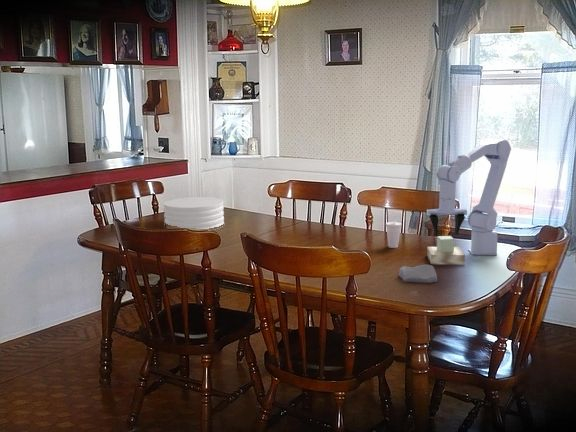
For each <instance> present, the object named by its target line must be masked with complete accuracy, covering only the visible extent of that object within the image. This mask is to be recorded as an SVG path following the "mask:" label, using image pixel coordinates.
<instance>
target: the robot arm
mask: <svg viewBox="0 0 576 432" xmlns="http://www.w3.org/2000/svg"><path fill="white" fill-rule="evenodd" d="M511 151H512V147H511V145H510V142H509V141H508V140H507V139H494V138H488V137H486V138H483V139H482V140H480V141H479V143H478V145H477V146H476V147H475V148H473V149H472V150H471V151H469V152H468V153H466V154H458V155H457V157H456V158H454V159H453V160H452V161H449V162H448V164H443V165H441V166H440V167H439V168H438V169H437V172H436V173H435V175H436V178H437V181H438V184H439V185H438V186H439V194H438V195H439V197H438V199H439V200H438V201H439V203H438V208H433V209H426V215H427V216H428V217H429V220H430V222H431V224H432V229H433V233H434V235H435V236H438V234H439V230H438V229H439V228H438V227H439V225H438V224H439V217H438V216H454V223H455V224H454V234H456V235H459V232H460V228H461V226H462V224H463V222H464V220H465V219H466V216H467V215H468V216H467V225H468V226H469V228H470V230H471V236H470V237H471V240H470V243H471V244H470V248H468V252H469V253H470V254H471V255H479V256H480V255H481V256H484V255H488V256H489V255H490V256H491V255H493V256H494V255H495V256H496V255H498V253H497V252H498V231H497V230H494V229H495V228H496V226H497V217H498V212H497V211H496V210H495V208H494V206H495V203H496V201H497V197H498V195H499V194H498V193H499V190H500V188H501V184H502V180H503V178H504V174H505V172H506V167H507V165H508V160H509V157H510V154H511ZM482 157H485V159H486V160H487V161H488V162H489V163H490V168H489V171H488V173H487V178H486V179H485V184H484V187H483V190H482V194H481V196H480V200H479V203H478V204H476V205H475V206H473V207H472V209H471V211H470V213H469V214H468V209H466V208H456V195H457V194H456V192H457V190H456V189H457V181H459V180H460V176H461V175H462V174H464V173H465V172H467V170H469V169H470V168H471V167H472V163H474V162H475V161H477V160H479V159H480V158H482Z"/></svg>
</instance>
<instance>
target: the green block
mask: <svg viewBox="0 0 576 432" xmlns="http://www.w3.org/2000/svg"><path fill="white" fill-rule="evenodd" d="M436 236H437V237H436V247H437V250H438V251H439V252H440V253H444V252H454V247H455V238H454V237H452V235H439V236H438V235H436Z"/></svg>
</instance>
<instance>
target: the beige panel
mask: <svg viewBox="0 0 576 432" xmlns="http://www.w3.org/2000/svg"><path fill="white" fill-rule="evenodd" d="M426 252H427V253H426V254H427V255H426V257H427V258H428V261H429V264H431V265H460V266H461V265H465V264H466V263H465V262H466V261H465V260H466V259H465V258H466V257H465V256H466V255H465V252H463V250H462V248H461V247H460V246H454V252H444V253H440V252H439V251H438V250H437V246H427V250H426Z"/></svg>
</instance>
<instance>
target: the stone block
mask: <svg viewBox="0 0 576 432" xmlns="http://www.w3.org/2000/svg"><path fill="white" fill-rule="evenodd" d="M398 277H400V278H401V279H402V281H403V282H405V283H406V282H407V283H427V284H428V283H429V284H430V283H437V282H438V275H437V272H436V269H435V267H434V266H433V265H432V264H431V265H430V264H421V265H419V264H418V265H416V266H412V267H411V266H406V265H402V266H401V267H400V268H399V270H398Z"/></svg>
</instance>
